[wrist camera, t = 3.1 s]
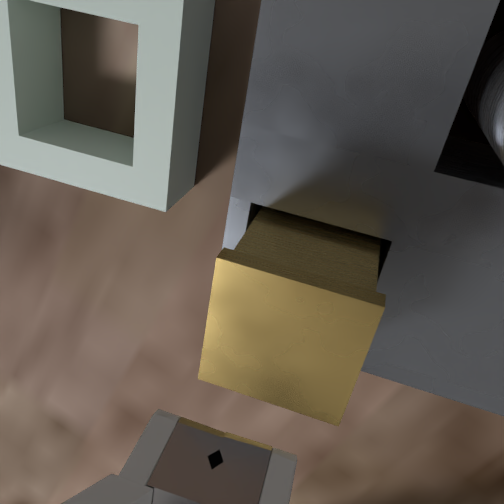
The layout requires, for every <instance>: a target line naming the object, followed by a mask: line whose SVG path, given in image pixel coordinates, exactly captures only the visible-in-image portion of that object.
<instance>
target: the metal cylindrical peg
mask: <svg viewBox="0 0 504 504" xmlns="http://www.w3.org/2000/svg"><path fill="white" fill-rule="evenodd" d="M464 99H465V103H466V105H467V107H468V109H469V111H470V112H471V114H472V116H473V117H474V119H475V120H476V122H477V124H478V125H479V127H480V128H481V130H482V132H483V133H484V135H485V136H486V138H487V140H488V141H489V143H490V144H491V146H492V148H493V149H494V151H495V153H496V154H497V156H498V157H499V159H500V161H501V162H502V164H503V165H504V30H503V31H502V32H500V33H498V34H496V35H494V36H493V37H491V38H490V39H489V40H488V41H486V42H485V43H484V44H483V46H482V48H481V51H480V53H479V56H478V58H477V61H476V64H475V66H474V69H473V71H472V74H471V77H470V79H469V82H468V84H467V87H466V90H465V92H464Z"/></svg>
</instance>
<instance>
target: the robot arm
mask: <svg viewBox="0 0 504 504" xmlns="http://www.w3.org/2000/svg"><path fill="white" fill-rule="evenodd" d="M296 464H297V456H296V455H294V454H291V453H288V452H285V451H282V450H279V449H276V448H272V446H269V445H266V444H262V443H259V442H256V441H253V440H250V439H247V438H244V437H240V436H237V435H234V434H231V433H228V432H226V433H224V432H222V431H219V430H216V429H213V428H211V427H208V426H205V425H202V424H200V423H197V422H194V421H191V420H189V419H186V418H183V417H180V416H177V415H175V414H172V413H169V412H166V411H163V410H160V409H158V410H157V411H156V412H155V413H154V414H153V416H152V417H151V419H150V421H149V423H148V424H147V426H146V428H145V430H144V432H143V433H142V435H141V437H140V439H139V440H138V442H137V444H136V446H135V447H134V449H133V451H132V453H131V455H130V456H129V458H128V460H127V462H126V463H125V465H124V467H123V469H122V470H121V472H120V474H119V476H117V475H114V474H110V475H108V476H107V477H105V478H103V479H102V480H100V481H98V482H97V483H95V484H93V485H92V486H90V487H88V488H87V489H85V490H83V491H82V492H80V493H78V494H77V495H75V496H73V497H72V498H70V499H68V500H67V501H65V502H63V503H62V504H289V501H290V496H291V490H292V485H293V480H294V474H295V469H296Z"/></svg>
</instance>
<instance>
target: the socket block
mask: <svg viewBox="0 0 504 504" xmlns="http://www.w3.org/2000/svg"><path fill="white" fill-rule="evenodd" d="M499 2H500V0H261V7H260V13H259V19H258V26H257V32H256V38H255V45H254V51H253V57H252V63H251V70H250V76H249V82H248V89H247V95H246V101H245V108H244V114H243V120H242V127H241V133H240V139H239V146H238V152H237V158H236V164H235V171H234V177H233V183H232V190H231V196H230V202H229V209H228V215H227V221H226V228H225V234H224V240H223V247H222V249H223V248H224V247H225V248H228V249H231V250H234V249H235V247H236V246H237V244H238V243H239V241H240V239H241V238H242V236H243V235H244V233H245V232H246V230H247V229H248V227H249V226H250V224H251V223H252V221H253V220H254V218H255V217H256V215H257V214H258V212H259V211H260V209H261V208H262V206H266V207H270V208H273V209H277V210H280V211H284V212H288V213H291V214H295V215H299V216H302V217H306V218H310V219H313V220H317V221H321V222H324V223H328V224H332V225H335V226H339V227H342V228H346V229H350V230H353V231H357V232H361V233H364V234H368V235H372V236H375V237H379V238H381V240H380V253H379V265H378V277H377V289H376V292H379V293H382V294H386V301H385V309H384V312H383V314H382V317H381V320H380V322H379V325H378V327H377V330H376V332H375V335H374V337H373V340H372V343H371V345H370V348H369V350H368V353H367V355H366V358H365V360H364V363H363V366H362V368H361V371H364V372H367V373H370V374H373V375H376V376H379V377H382V378H385V379H389V380H392V381H395V382H398V383H401V384H404V385H407V386H411V387H414V388H417V389H420V390H423V391H426V392H429V393H433V394H436V395H439V396H442V397H445V398H448V399H451V400H454V401H458V402H461V403H464V404H467V405H470V406H473V407H476V408H480V409H483V410H486V411H489V412H492V413H495V414H498V415H502V416H504V165H503V164H502V162H501V161H500V159H499V157H498V156H497V154H496V153H495V151H494V149H493V148H492V146H491V145H487V144H482V143H478V142H474V141H470V140H465V139H461V138H457V137H453V136H448V134H449V131H450V128H451V126H452V123H453V121H454V118H455V115H456V113H457V110H458V108H459V105H460V102H461V100H462V97H463V95H464V92H465V90H466V87H467V84H468V82H469V79H470V77H471V74H472V71H473V69H474V66H475V64H476V61H477V58H478V56H479V53H480V51H481V48H482V46H483V43H484V40H485V38H486V35H487V33H488V30H489V27H490V25H491V22H492V20H493V17H494V14H495V12H496V9H497V7H498V4H499Z"/></svg>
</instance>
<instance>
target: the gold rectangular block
mask: <svg viewBox="0 0 504 504" xmlns="http://www.w3.org/2000/svg"><path fill="white" fill-rule="evenodd" d="M380 240H381V238H379V237H375V236H372V235H368V234H364V233H361V232H357V231H353V230H350V229H346V228H342V227H339V226H335V225H332V224H328V223H324V222H321V221H317V220H313V219H310V218H306V217H302V216H299V215H295V214H291V213H288V212H284V211H280V210H277V209H273V208H270V207H266V206H262V208H261V209H260V211H259V212H258V214H257V215H256V217H255V218H254V220H253V221H252V223H251V224H250V226H249V227H248V229H247V230H246V232H245V233H244V235H243V236H242V238H241V239H240V241H239V243H238V244H237V246H236V247H235V249H234V250H231V249H228V248H225V247H224V248H223V249H222V251H221V252H220V253H219V255H218V256H217V258H216V264H215V271H214V277H213V284H212V290H211V297H210V303H209V310H208V316H207V323H206V330H205V336H204V343H203V349H202V356H201V362H200V369H199V375H198V379H200V380H203V381H206V382H209V383H212V384H215V385H218V386H221V387H224V388H227V389H230V390H233V391H236V392H238V393H241V394H244V395H247V396H250V397H253V398H256V399H259V400H262V401H265V402H268V403H271V404H274V405H277V406H280V407H283V408H286V409H289V410H292V411H295V412H297V413H300V414H303V415H306V416H309V417H312V418H315V419H318V420H321V421H324V422H327V423H330V424H333V425H336V426H339V424H340V422H341V419H342V417H343V414H344V411H345V409H346V406H347V404H348V401H349V399H350V396H351V394H352V391H353V388H354V386H355V383H356V381H357V378H358V376H359V373H360V371H361V368H362V366H363V363H364V360H365V358H366V355H367V353H368V350H369V348H370V345H371V343H372V340H373V337H374V335H375V332H376V330H377V327H378V325H379V322H380V320H381V317H382V314H383V312H384V309H385V301H386V294H382V293H379V292H376V289H377V277H378V265H379V253H380Z"/></svg>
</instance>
